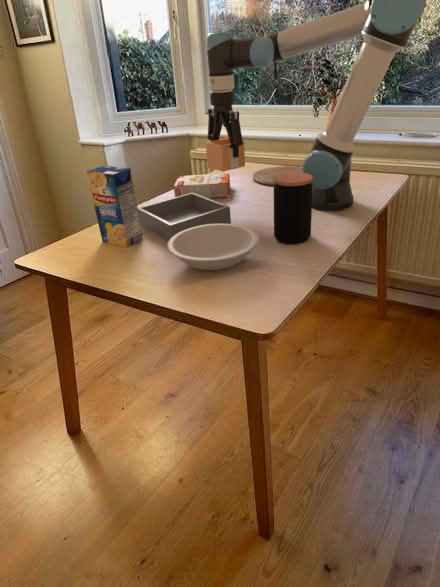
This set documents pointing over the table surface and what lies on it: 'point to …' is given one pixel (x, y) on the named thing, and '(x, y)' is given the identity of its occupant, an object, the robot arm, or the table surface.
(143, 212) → the charcoal crate
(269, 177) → the trivet
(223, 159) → the orange crate
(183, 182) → the cracker box
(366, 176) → the table surface
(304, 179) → the coffee jar
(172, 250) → the soup bowl
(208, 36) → the robot arm
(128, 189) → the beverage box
